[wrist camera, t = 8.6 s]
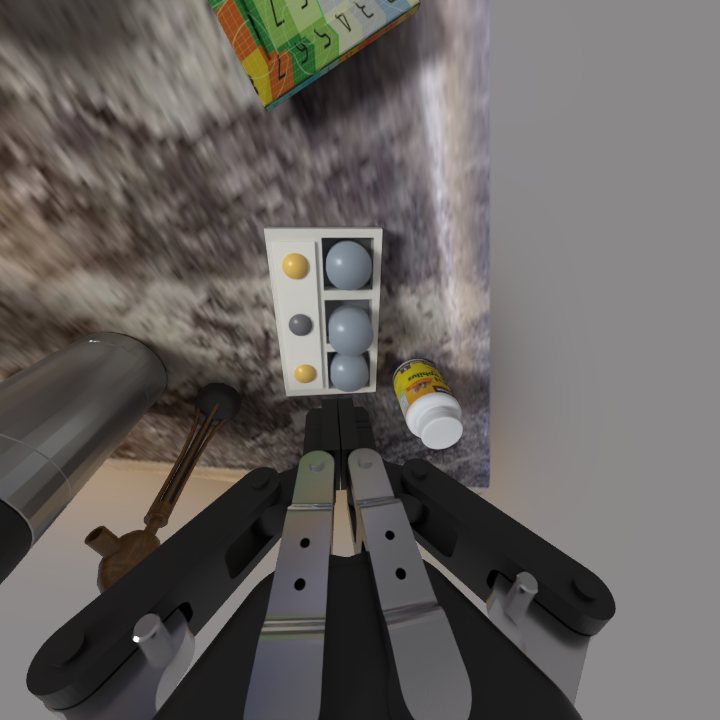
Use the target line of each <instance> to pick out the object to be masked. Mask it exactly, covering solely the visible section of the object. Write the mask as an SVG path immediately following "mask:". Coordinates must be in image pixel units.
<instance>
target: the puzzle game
mask: <svg viewBox="0 0 720 720" xmlns="http://www.w3.org/2000/svg"><path fill="white" fill-rule="evenodd" d="M208 1H209V3H210V5H211V7H212V9H213V11H214V13H215V15H216V16H217V18H218V20H219V22H220V24H221V26H222V28H223V30H224V32H225V34H226V35H227V37H228V39H229V41H230V43H231V45H232V47H233V49H234V51H235V53H236V54H237V56H238V58H239V60H240V62H241V64H242V66H243V68H244V70H245V72H246V73H247V75H248V77H249V79H250V81H251V83H252V85H253V87H254V89H255V91H256V92H257V94H258V96H259V98H260V100H261V102H262V104H263V106H264V108H265V109H266V111H267V112H269V111H270V110H272V109H273V108H275V107H276V106H278V105H279V104H281V103H282V102H284V101H285V100H287V99H288V98H290V97H291V96H293V95H294V94H296V93H297V92H299V91H300V90H301V89H303V88H304V87H306V86H307V85H309V84H310V83H312V82H313V81H315V80H316V79H318V78H319V77H321V76H322V75H324V74H325V73H327V72H328V71H330V70H331V69H333V68H334V67H336V66H337V65H339V64H340V63H342V62H343V61H345V60H346V59H348V58H349V57H351V56H352V55H354V54H355V53H357V52H358V51H360V50H361V49H362V48H364V47H365V46H367V45H368V44H370V43H371V42H373V41H374V40H376V39H377V38H379V37H380V36H382V35H383V34H385V33H386V32H388V31H389V30H391V29H392V28H394V27H395V26H397V25H398V24H400V23H401V22H403V21H404V20H406V19H407V18H409V17H410V16H412V15H413V14H415V13H416V11H417V9H418V7H419V5H420V0H208Z"/></svg>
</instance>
